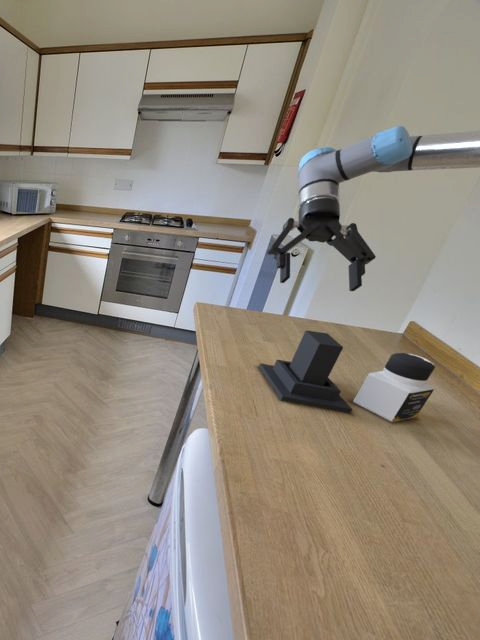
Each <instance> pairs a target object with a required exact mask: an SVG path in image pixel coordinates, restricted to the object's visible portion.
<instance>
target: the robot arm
mask: <svg viewBox="0 0 480 640" xmlns="http://www.w3.org/2000/svg"><path fill="white" fill-rule="evenodd" d="M478 168H479V169H480V130H471V131H458V132H448V133H437V134H436V133H435V134H426V135H425V134H424V135H411V136H410V133H409V132H408V130H407V129H406V127H405V126H403V125H398V126H394V127H392V128H388V129H385V130H381V131H379V132H378V133H375V134H373V135H371V136H368V137H367V138H364V139H362V140H360V141H357V142H355V143H353V144H350V145H347V146H346V147H343V148H340V149H336V148H333V147H329V146H323V147H322V148H315V149H312V150H309V152H307V153H306V154H304V155H303V157H301V159H300V161H299V167H298V172H297V178H298V221H296V220H295V218H293V217H289V218H288V219H287V220H286V221H285V222H284V224H283V225H282V229H281V232H280V233H279V235H278V236H277V238H276V239H275V240H274V242H272V244H271V245H270V246H269V248H268V249H267V251H266V253H267V255H273V259H274V260H276V261H275V267H276V269H279V283H280V284H285V283H286V282H287V281H288V280H290V278H291V252H289V251H291V250H292V249H294V247H296V246H297V245H299V244H301V243H302V242H303V241H304V240H305V239H306V240H307V241H308V242H318V243H326V244H327V245H329V246H332V247H333V248H334V249H335V250H337V251H338V252H339V253H340V255H342V256H343V257H344V259H346V260H347V261H348V262H349V263H350V264H349V265H348V285H349V288H348V289H349V292H355V291H357V290H358V289H359V288H361V287H363V279H362V277H363V276H364V275H365V274H366V265H368V264H370V263H371V262H372V261H374V260H375V259H376V257H377V256H376V255H375V253H374V252H373V250H372V249H371V248H370V246H369V245H368V243H367V242H366V241H365V239H364V238H363V236H362V235H361V234H360V233H359V231H358V230H359V229H358V226H357V224H356V223H355V222H351V223H350V224H349V225H348V224H347V225H345V224H343V225H342V224H341V222H340V218H341V206H340V205H341V204H340V199H341V198H340V183H341V184H342V183H344V182H347V181H351V180H352V179H355V178H358V177H360V176H363V175H366V174H369V173H373V172H375V173H392V172H409V171H427V170H428V171H429V170H451V169H452V170H453V169H454V170H457V169H478ZM295 229H297V231H298V232H299V234H298V235H297V236H295V237H294V238H293V239H292V240H291V241H289V242H288V243H286V244H285V245H284V246H282V247H279V246H280V245H281V244H282V242H283V241H284V240H285V239H286V238H287V236H288V235H289V233H290V232H291V231H294V230H295Z"/></svg>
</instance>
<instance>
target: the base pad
mask: <svg viewBox="0 0 480 640" xmlns="http://www.w3.org/2000/svg"><path fill="white" fill-rule="evenodd" d="M290 364H291V361H289V360H282V359H275V363H274V365H272V364H267V363H259V365H258V368H259V370H260V371H261V373H262V374H263V375H264V377H265V379H266V380H267V382H268V383H269V385H270V386H271V388H272V389H273V391H274V392H275V394H276V396H277V397H278V398H279V400H280V401H282V402H287V403H293V404H297V405H304V406H309V407H313V408H314V407H315V408H321V409H325V410H331V411H336V412H342V413H347V414H351V413H352V411H353V408H352V407H351V406H350V405H349V404H348V403H347V401H346V400H345V399H344V398H342V396H341V392H342V391H341V389H340V388H339V387H338V386H337V385H336V384H335V383H334V382H333V381H332V380H331V379H330V377H328V378H327V380H326V382H325V384H324V386H320V385H314V384H308V383H303V382H299V381H298V380H297V379H296V378H295V376H294V375H293V374H292V373H291V371H290V370H289V369H288V368H289V366H290Z"/></svg>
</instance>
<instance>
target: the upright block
mask: <svg viewBox="0 0 480 640" xmlns="http://www.w3.org/2000/svg"><path fill="white" fill-rule="evenodd" d="M343 350H344V346H343V345H341V343H339V342H338V341H337V340H336V339H334V338H333V337H332V336H331V334H329V333H328V332H321V331H319V332H318V331H313V330H305V331H304V333H303V335H302V337H301V339H300V341H299V344H298V346H297V348H296V350H295V353H294V355H293V357H292V360H290V362H291V364H290V366H289V368H288V369H289V370H290V371H291V373H292V374H293V375H294V376H295V378H296V379H297V380H298V381H299V382H303V383H308V384H314V385H320V386H324V384H325V382H326V380H327V378H330V377H329V376H330V374H331V373H332V371H333V369H334V367H335V365H336V363H337V361H338V359H339V357H340V355H341V353H342V351H343Z"/></svg>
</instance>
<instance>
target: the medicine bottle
mask: <svg viewBox="0 0 480 640" xmlns="http://www.w3.org/2000/svg"><path fill="white" fill-rule="evenodd" d="M435 369H436V366H435V364H434V363H433V362H432V361H430V360H429V359H427V358H425V357H422V356H420V355H416V354H413V353H408V352H395V353H392V354H391V355H390V357H389V358H388V360H387V362H386V363H385V365H384V367H383V368H382V370H381V371H373V372H368V374H367V375H366V378H365V379H364V380H363V382H362V384H361V386H360V388H359V389H358V392H357V394H356V395H355V397H354V399H353V403H354V404H356V405H357V406H359V407H362V408H364V409H365V410H368V411H369V412H372V413H374V414H375V415H377V416H379V417H381V418H383V419H385V420H387V421H388V422H391V423H393V422H400V421H404V420H409V419H410V420H411V419H415V418H417V416H418V415H419V414H420V412H421V410H422V409H423V408H424V406H425V405H426V403H427V401H428V400H429V398H430V397H431V395H432V394H433V392H434V391H435V386H432V385H431V384H428V383H427V381H428V380H429V378H430V376H431V375H432V373H433V372H434V371H435Z"/></svg>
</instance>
